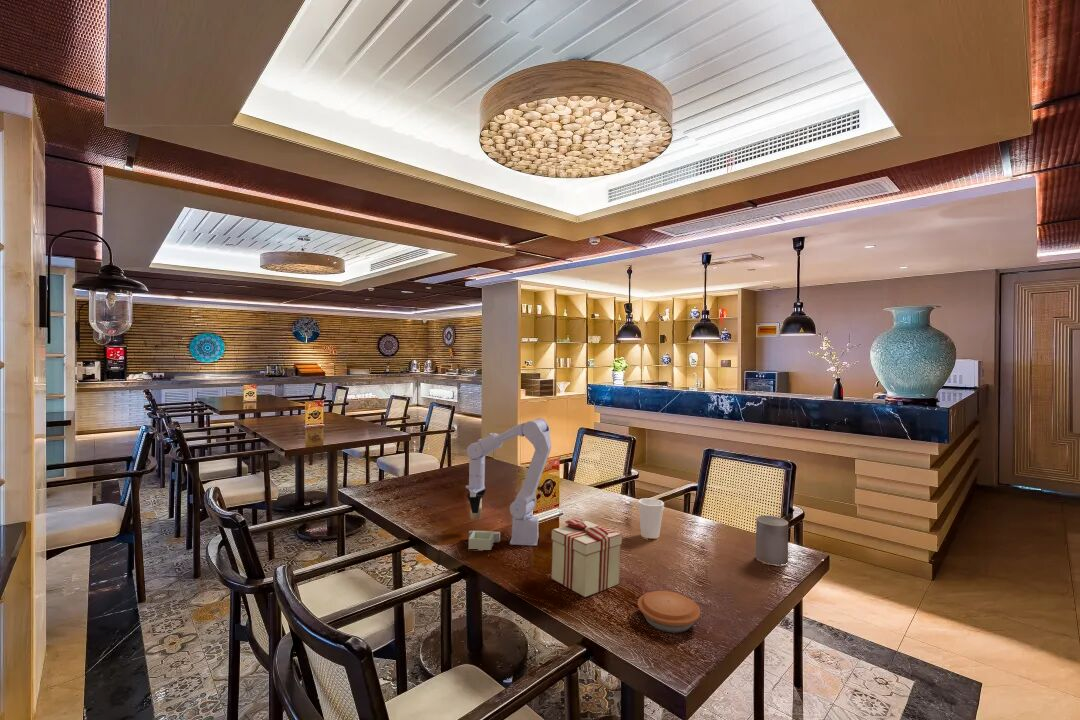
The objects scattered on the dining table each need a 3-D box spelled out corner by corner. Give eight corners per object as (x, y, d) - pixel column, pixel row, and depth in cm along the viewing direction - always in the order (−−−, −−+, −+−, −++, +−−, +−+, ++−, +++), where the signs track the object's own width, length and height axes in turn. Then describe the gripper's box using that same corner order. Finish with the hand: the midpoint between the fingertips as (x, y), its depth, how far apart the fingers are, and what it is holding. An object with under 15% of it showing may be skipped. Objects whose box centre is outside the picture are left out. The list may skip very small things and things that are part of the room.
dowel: (482, 515, 181) (482, 494, 180) (480, 519, 177) (480, 497, 176) (471, 515, 181) (472, 494, 181) (469, 519, 177) (470, 497, 177)
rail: (499, 540, 172) (500, 531, 172) (499, 542, 170) (499, 533, 170) (469, 538, 173) (469, 530, 173) (468, 540, 171) (468, 532, 171)
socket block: (494, 543, 170) (494, 531, 170) (490, 551, 163) (490, 539, 163) (473, 542, 171) (473, 530, 171) (468, 550, 163) (468, 538, 163)
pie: (698, 644, 112) (698, 623, 112) (632, 629, 118) (632, 609, 118) (701, 612, 127) (702, 593, 127) (642, 599, 132) (643, 581, 132)
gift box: (628, 580, 144) (629, 522, 144) (588, 601, 131) (590, 538, 131) (584, 561, 156) (586, 508, 156) (544, 579, 143) (546, 521, 143)
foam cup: (661, 543, 173) (662, 507, 173) (635, 539, 176) (636, 504, 176) (663, 534, 182) (664, 499, 182) (639, 530, 185) (640, 497, 185)
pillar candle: (770, 553, 166) (771, 510, 166) (794, 564, 157) (795, 519, 157) (748, 557, 162) (749, 513, 162) (772, 569, 153) (773, 522, 153)
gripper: (470, 469, 186) (469, 504, 186) (461, 479, 172) (461, 516, 172) (488, 470, 186) (487, 505, 186) (481, 479, 171) (480, 517, 171)
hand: (476, 510), depth 179 cm, fingers closed on dowel, 4 cm apart
